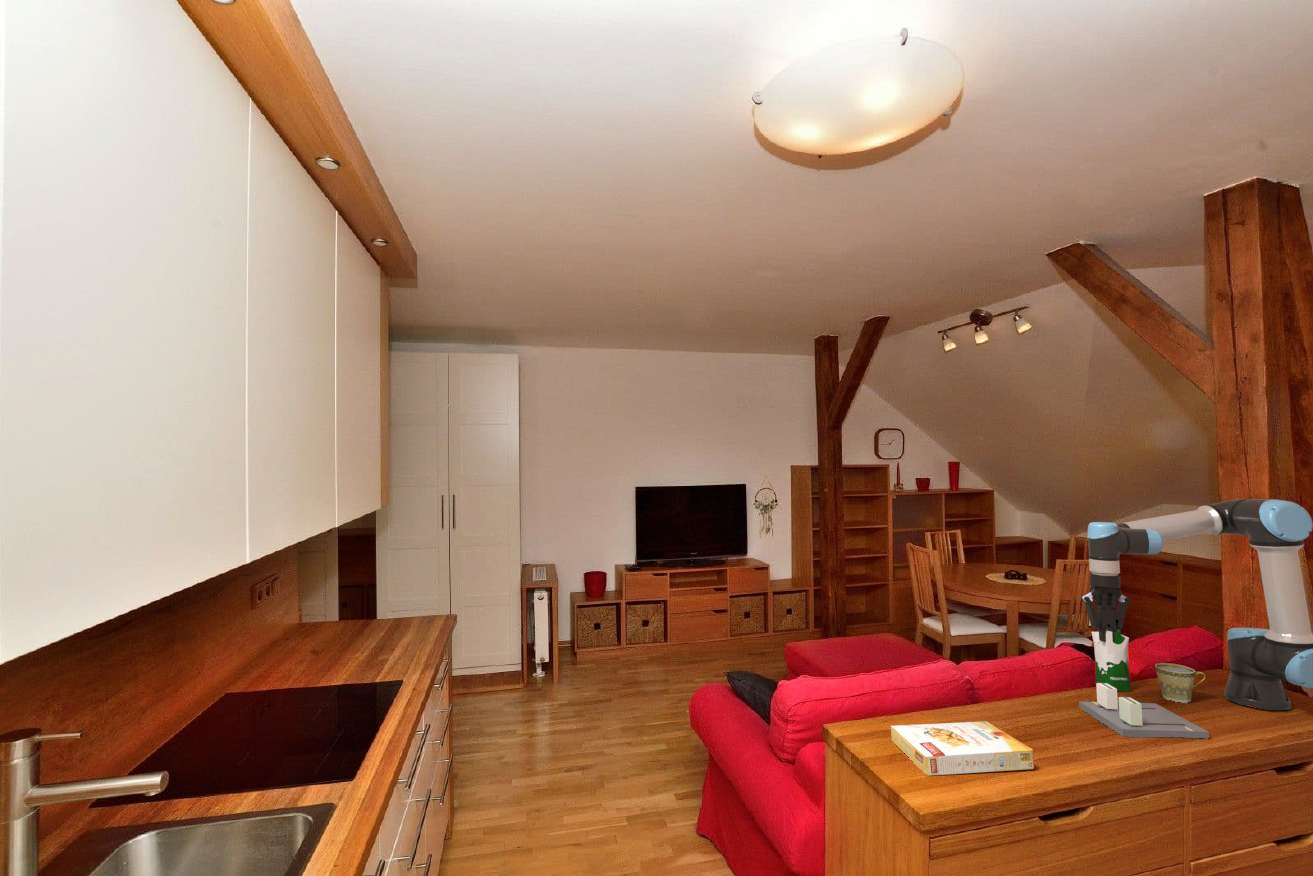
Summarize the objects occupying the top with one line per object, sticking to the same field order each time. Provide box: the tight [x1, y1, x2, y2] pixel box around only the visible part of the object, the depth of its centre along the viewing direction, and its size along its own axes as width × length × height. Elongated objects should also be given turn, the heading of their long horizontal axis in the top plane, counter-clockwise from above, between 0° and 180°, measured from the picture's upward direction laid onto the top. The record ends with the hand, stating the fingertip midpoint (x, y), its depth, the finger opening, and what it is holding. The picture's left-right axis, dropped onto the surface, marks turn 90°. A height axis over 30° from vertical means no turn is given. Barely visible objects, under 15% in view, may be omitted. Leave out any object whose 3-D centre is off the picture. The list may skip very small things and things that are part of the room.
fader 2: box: [1118, 696, 1143, 726], centre depth 175 cm, size 3×5×6 cm, turn 174°
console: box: [1078, 700, 1210, 739], centre depth 180 cm, size 22×21×2 cm
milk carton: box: [1091, 629, 1131, 691], centre depth 210 cm, size 9×9×20 cm
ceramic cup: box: [1154, 662, 1206, 704], centre depth 198 cm, size 13×10×10 cm
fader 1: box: [1095, 682, 1119, 709], centre depth 187 cm, size 3×5×6 cm, turn 174°
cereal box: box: [890, 720, 1035, 776], centre depth 161 cm, size 20×6×28 cm
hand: (1107, 652), depth 185 cm, fingers closed
